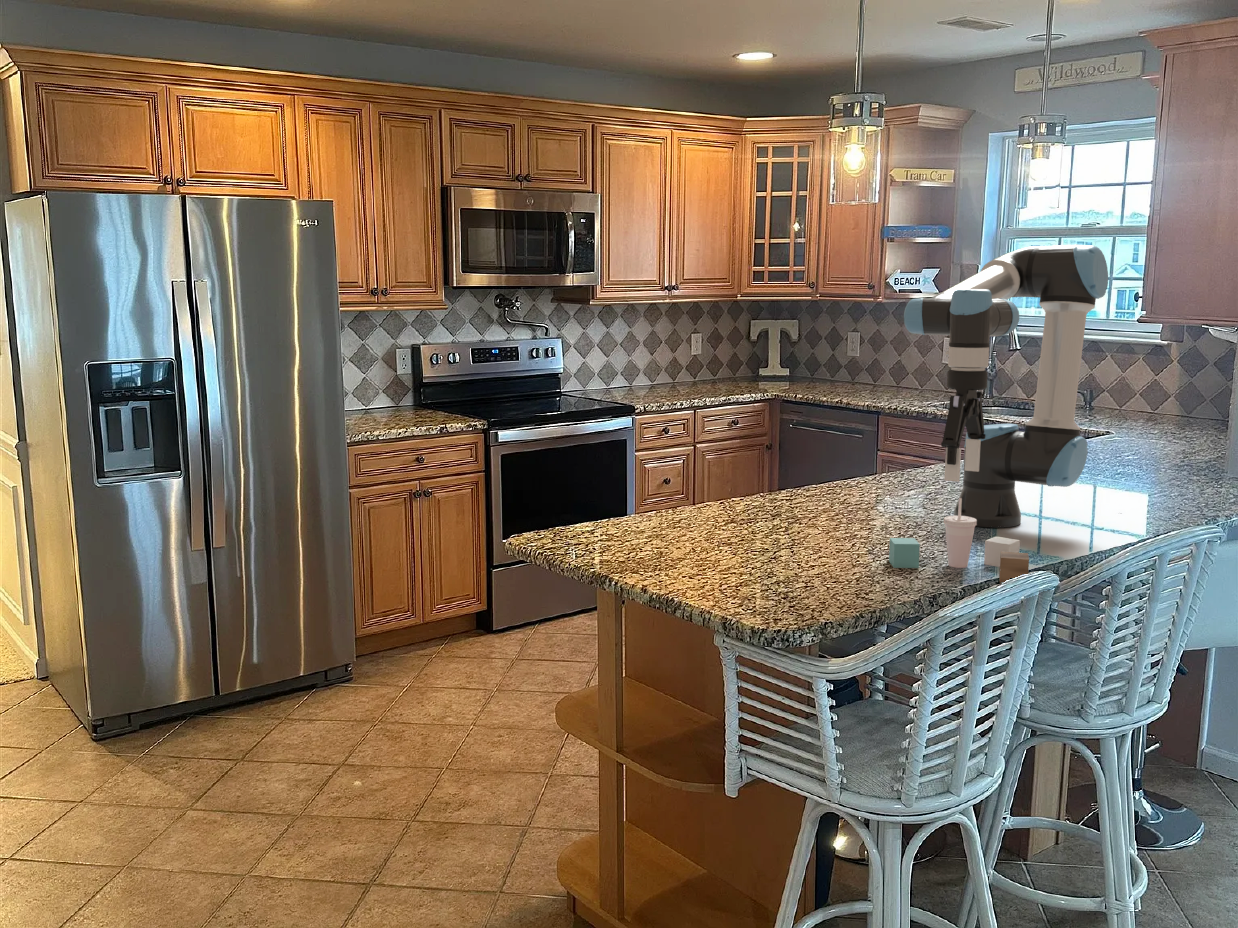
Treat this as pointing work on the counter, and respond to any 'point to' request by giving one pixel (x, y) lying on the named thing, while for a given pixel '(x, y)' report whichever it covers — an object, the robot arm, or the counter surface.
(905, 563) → the cube teal
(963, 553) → the smoothie
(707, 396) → the counter surface
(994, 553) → the cube grey
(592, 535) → the counter surface
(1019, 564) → the cube walnut
